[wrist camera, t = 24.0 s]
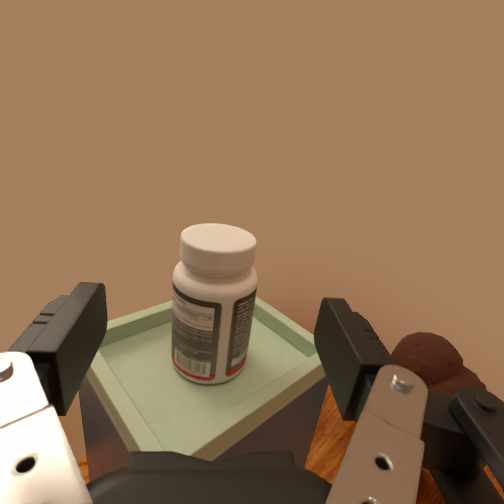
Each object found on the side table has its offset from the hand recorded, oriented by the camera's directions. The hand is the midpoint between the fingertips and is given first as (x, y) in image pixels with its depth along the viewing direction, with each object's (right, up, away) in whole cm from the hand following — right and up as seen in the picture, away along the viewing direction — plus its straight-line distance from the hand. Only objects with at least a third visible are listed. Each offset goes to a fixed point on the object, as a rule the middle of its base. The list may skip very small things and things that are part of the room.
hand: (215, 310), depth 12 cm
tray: (-1, -5, +9) cm, 10 cm away
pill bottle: (-1, -5, +9) cm, 10 cm away
